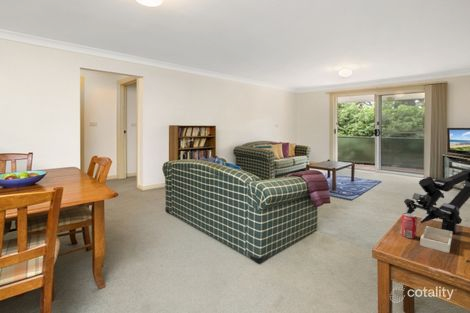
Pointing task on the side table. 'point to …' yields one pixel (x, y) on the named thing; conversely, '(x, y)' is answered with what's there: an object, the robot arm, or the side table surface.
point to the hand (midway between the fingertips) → (412, 219)
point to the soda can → (409, 225)
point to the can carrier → (436, 239)
